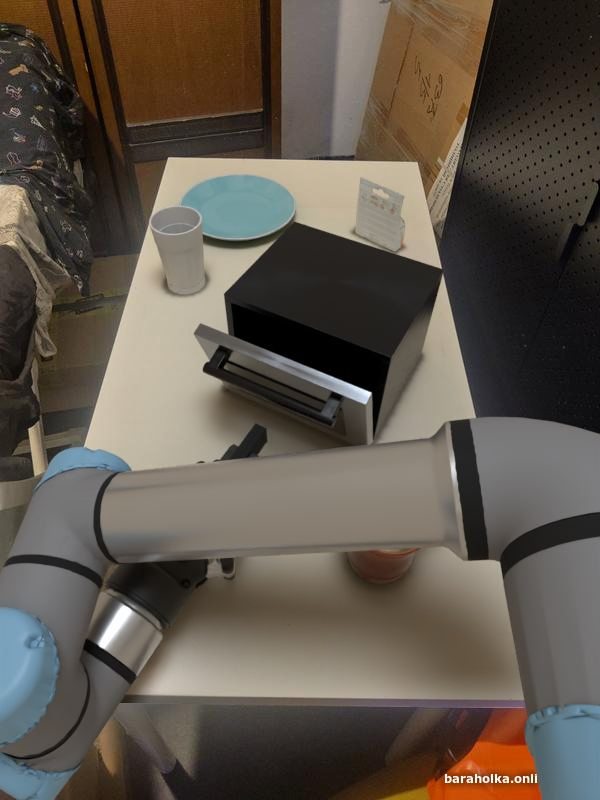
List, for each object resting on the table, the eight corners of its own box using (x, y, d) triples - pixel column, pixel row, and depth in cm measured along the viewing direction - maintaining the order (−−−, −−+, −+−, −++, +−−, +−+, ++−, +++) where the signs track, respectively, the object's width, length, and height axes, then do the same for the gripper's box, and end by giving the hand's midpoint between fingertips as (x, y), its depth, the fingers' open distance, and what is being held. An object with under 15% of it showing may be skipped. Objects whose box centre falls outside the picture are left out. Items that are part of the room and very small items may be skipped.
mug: (355, 604, 59) (366, 566, 51) (328, 532, 64) (334, 488, 56) (455, 572, 61) (480, 531, 53) (420, 505, 67) (439, 459, 59)
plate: (313, 236, 102) (314, 223, 100) (197, 261, 96) (195, 248, 94) (273, 178, 115) (272, 165, 113) (168, 198, 109) (166, 184, 107)
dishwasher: (373, 441, 72) (391, 357, 60) (233, 380, 79) (223, 293, 66) (420, 355, 83) (444, 269, 70) (293, 308, 89) (294, 221, 77)
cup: (160, 272, 94) (146, 209, 85) (206, 265, 96) (197, 202, 87) (165, 301, 89) (151, 238, 80) (213, 293, 91) (205, 230, 82)
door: (357, 473, 71) (352, 431, 56) (215, 408, 77) (178, 356, 63) (373, 441, 72) (372, 392, 58) (232, 380, 78) (200, 322, 64)
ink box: (361, 227, 104) (368, 170, 95) (402, 247, 100) (413, 188, 91) (352, 234, 103) (358, 176, 94) (393, 254, 99) (404, 195, 90)
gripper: (91, 591, 56) (218, 429, 70) (196, 656, 52) (309, 471, 66) (68, 562, 50) (212, 391, 64) (184, 632, 47) (311, 435, 60)
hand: (261, 432), depth 65 cm, fingers closed
